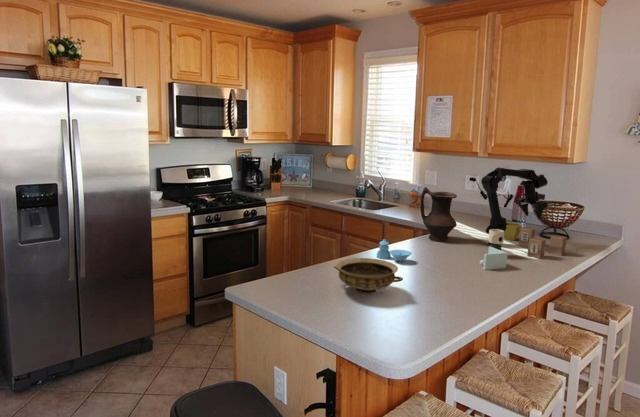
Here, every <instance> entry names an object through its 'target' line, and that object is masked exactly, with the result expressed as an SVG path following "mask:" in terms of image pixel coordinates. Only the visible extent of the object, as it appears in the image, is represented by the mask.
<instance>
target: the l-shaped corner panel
mask: <svg viewBox="0 0 640 417" xmlns="http://www.w3.org/2000/svg"><path fill="white" fill-rule="evenodd" d="M483 255H484V258H483V259H482V260H479V264H480V266H483V270H495V269H496V270H497V269H507V262H508V252H506V251H503V250H502V249H501V250H498V249H495V248H493V247H490V246H488V251H487V253H484V254H483Z"/></svg>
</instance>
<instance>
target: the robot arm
mask: <svg viewBox="0 0 640 417" xmlns="http://www.w3.org/2000/svg"><path fill="white" fill-rule="evenodd" d="M504 176H509V177H517V178H518V179H522V180H521V182H520V183H519V185H520V186H523V192H524V193H522V197H519V198H516V199H515V204H516V205H517V206H518V207H519V209H520V210H522V212H523V214H524V215H525V216H526V217H528V216H529V205H532V206H533V207H534V212H535V214H536V217H537V219H538V220H540V219H541V217H542V214H543V210H544V209H546V208H547V207H549V205H548V204H549V203H548V202H547V201H545V200H546V194H545V193H544V194H543V193H539V192H538V191H536V190H538V189H541V188H544V187H546V186H547V185H548V184H549V183H548V182H549V181H548V179H547V178H546V177H545V175H544V174H538V175H537V173H536V171H535V170H533V169H527V168H521V169H520V168H519V169H512V168H504V167H496V168H495V169H493V170H492V171H491V172H488V173H487V174H486V175H483V177H482V179H481V180H480V181H481V185H482V188H483V189H484V191H485V192H486V193H487V194H486V195H487V201H488V205H489V210H490V211H489V212H490V215H491V218H490V219H489V225H488V226H487V227H486V228H485V233H486V234H489V230H490V229H499V230H503V231H504V232H505V230H506V228H507V227H506V225H507V223H506V222H507V219H506V217H503V216H502V213H501V209H500V203H499V198H498V193H497V192H498V188H499V183H500V182H501V181H502V180H503V178H504ZM490 244H491V243H490V242H489V239H488V242H487V243H485V245H486V246H488V247H490ZM500 245H501V246H502V245H503V244H500Z"/></svg>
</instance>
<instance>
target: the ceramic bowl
mask: <svg viewBox="0 0 640 417" xmlns="http://www.w3.org/2000/svg"><path fill="white" fill-rule="evenodd" d="M333 268H334V269H335V270H336V271H338V277H339V279H340V281H341V282H343V283H344V284H345V285H346V286H349V287H350V288H351V287H352V288H353V289H355V291H356V292H357V293H361V294H365V295H366V294H374V293H376V292H377V290H382V289H385V288H387V287H389V286H390V285H392V284H393V283H399V282H402V281H403V280H404V277H403V276H402V277H401V276H396V275H395V273H396V272H398V271H399V268H398V265H396V264H394V263H392V262H390V261H386V260H385V259H379V258H372V257H371V258H368V257H367V258H365V257H351V258H346V259H343V260H340V261H338V262H337V263H336V264H333Z"/></svg>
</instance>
